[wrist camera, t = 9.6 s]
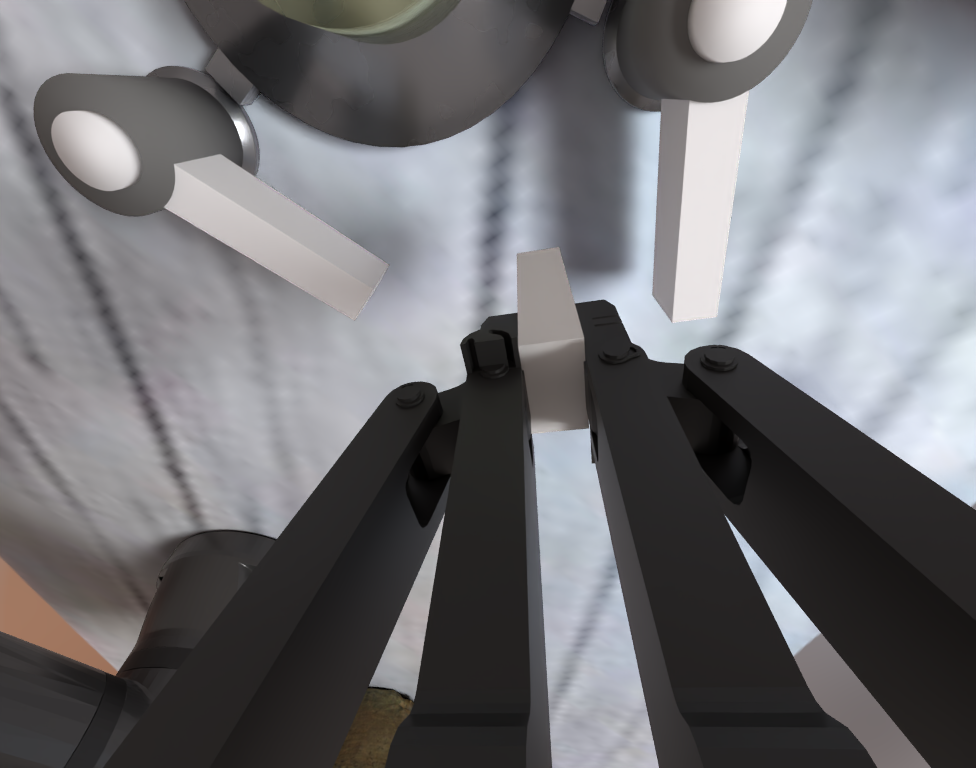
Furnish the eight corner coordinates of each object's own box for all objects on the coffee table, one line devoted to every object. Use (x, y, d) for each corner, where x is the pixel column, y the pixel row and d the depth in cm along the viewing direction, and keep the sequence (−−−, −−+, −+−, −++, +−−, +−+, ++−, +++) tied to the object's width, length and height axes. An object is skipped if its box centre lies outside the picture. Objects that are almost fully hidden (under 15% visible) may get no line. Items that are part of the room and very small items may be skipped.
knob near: (615, -33, 15) (662, -86, 11) (744, -64, 15) (853, -136, 10) (616, 285, 22) (645, 336, 17) (705, 271, 21) (759, 320, 17)
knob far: (131, 150, 19) (14, 169, 15) (150, 51, 17) (19, 36, 13) (370, 298, 23) (336, 350, 18) (410, 232, 21) (382, 271, 16)
